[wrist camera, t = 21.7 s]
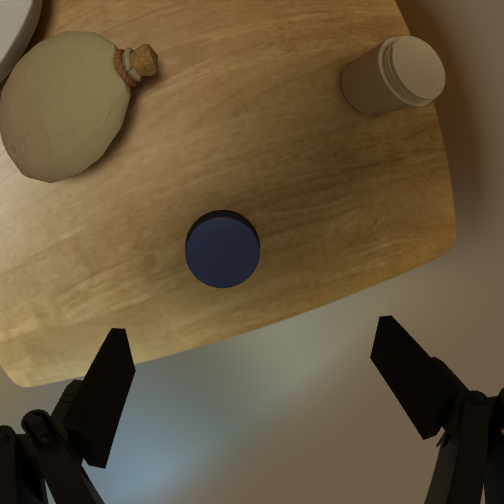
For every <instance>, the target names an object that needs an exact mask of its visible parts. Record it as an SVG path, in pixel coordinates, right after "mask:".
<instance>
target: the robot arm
mask: <svg viewBox="0 0 504 504" xmlns="http://www.w3.org/2000/svg"><path fill="white" fill-rule="evenodd" d="M370 358H371V360H372V361H373V363H374V364H375V366H376V367H377V369H378V370H379V372H380V373H381V375H382V376H383V378H384V379H385V381H386V382H387V384H388V385H389V387H390V389H391V390H392V392H393V393H394V394H395V396H396V398H397V399H398V401H399V402H400V404H401V405H402V407H403V409H404V410H405V412H406V413H407V415H408V416H409V418H410V419H411V421H412V423H413V424H414V426H415V427H416V429H417V430H418V432H419V434H420V435H421V437H422V439H423V440H425V439H428V438H430V437H433V436H435V435H437V433H438V432H439V430H440V428H441V427H443V428H444V430H445V432H444V434H443V435H442V437H441V439H440V440H439V442H438V443H437V445H436V446H437V447H438V446H439V445H440V443H441V445H440V450H439V454H438V458H437V462H436V466H435V470H434V473H433V477H432V480H431V484H430V487H429V490H428V493H427V497H426V500H425V503H424V504H480V502H481V496H482V490H483V484H484V491H485V504H504V435H503V432H502V430H504V388H503V389H501V391H500V393H499V395H498V396H494V397H487V396H486V395H485V394H483V393H482V392H479V391H473V390H472V391H469V390H468V389H467V387H466V386H465V385H464V384H463V383H462V382H461V381H460V380H459V378H458V377H457V376H456V375H455V374H453V372H452V371H451V370H450V369H449V368H448V367H447V365H446V364H445V363H444V362H443V361H441V360H439V359H438V358H436V357H432V358H431V357H430V356H429V355H428V354H427V353H426V352H425V351H424V350H423V349H422V348H421V347H420V345H419V344H418V343H417V342H416V341H415V340H414V339H413V338H412V337H411V336H410V335H409V334H408V332H407V331H406V330H405V329H404V328H403V327H402V326H401V325H400V324H399V323H398V322H397V321H396V320H395V319H394V318H393V317H392V316H391V315H390V316H382V317H379V321H378V327H377V331H376V335H375V340H374V344H373V348H372V352H371V356H370ZM135 371H136V370H135V367H134V363H133V359H132V355H131V351H130V347H129V343H128V339H127V334H126V330H125V329H119V328H111V330H110V332H109V334H108V335H107V337H106V339H105V341H104V342H103V344H102V346H101V348H100V350H99V352H98V353H97V355H96V357H95V359H94V361H93V363H92V364H91V366H90V368H89V370H88V372H87V374H86V376H85V378H84V380H83V381H82V380H73V381H72V382H71V383H70V384H69V385H67V387H66V388H65V390H64V392H63V394H62V396H61V398H60V399H59V402H58V403H57V405H56V407H55V409H54V411H53V413H52V415H51V416H49V414H48V413H47V412H45V411H44V410H39V409H37V410H32V411H30V412H28V413H27V414H26V415H25V416H24V417H23V419H22V421H21V426H22V428H23V430H24V431H25V433H26V434H16V433H15V431H14V430H13V429H12V428H11V427H9V426H5V425H2V426H0V504H48V498H47V493H46V486H45V480H46V482H47V485H48V487H49V489H50V492H51V494H52V496H53V498H54V500H55V502H56V504H105V503H104V502H103V500H102V499H101V497H100V495H99V494H98V492H97V491H96V489H95V487H94V486H93V484H92V482H91V481H90V479H89V477H88V475H87V474H86V472H85V470H84V468H83V467H82V465H81V464H82V461H83V458H84V459H85V461H86V462H87V464H88V465H90V466H95V467H99V468H106V464H107V460H108V457H109V454H110V450H111V446H112V443H113V440H114V437H115V433H116V430H117V427H118V423H119V419H120V417H121V414H122V410H123V407H124V404H125V401H126V398H127V395H128V392H129V389H130V386H131V383H132V380H133V377H134V374H135Z"/></svg>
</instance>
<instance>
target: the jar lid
mask: <svg viewBox="0 0 504 504" xmlns="http://www.w3.org/2000/svg"><path fill="white" fill-rule="evenodd" d="M259 253H260V249H259V244H258V239H257V237H256V236H255V234H254V231H253V229H251V227H250V226H249V225H248V223H247V222H245V221H243V220H242V219H240V217H236V216H233V215H231V214H230V215H229V214H221V213H220V214H216V215H211V216H209V217H207V218H205V219H202V221H200V222H199V223H198V224H197V225H195V227H194V229H193V230H192V232H191V233H190V234H189V239H188V241H187V243H186V261H187V264H188V266H189V269H190V270H191V272H192V273H193V275H194V276H195V277H196V278H197V279H198V280H200V281H201V282H203V283H205V284H206V285H209V286H212V287H216V288H229V287H233V286H236V285H238V284H240V283H242V282H244V281H245V280H247V279H248V278H249V277H250V276H251V275H252V273H253V272H254V270H255V269H256V267H257V264H258V261H259Z"/></svg>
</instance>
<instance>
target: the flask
mask: <svg viewBox="0 0 504 504" xmlns="http://www.w3.org/2000/svg"><path fill="white" fill-rule="evenodd" d="M157 62H158V55H157V54H156V53H155V51H154V50H153V49H152V48H151V47H150V45H149V44H143V45H141V46H140V47H139V48H137V49H136V50H135V51H133V50H132V49H131V48H129V47H128V48H127V49H126V50H125V51H124V50H123V49H119V50H118V48H117V46H116V45H115V44H114V43H112V42H110V41H108V40H107V39H105V38H103V37H101V36H100V35H98V34H96V33H94V32H63V33H61V34H58V35H55V36H53V37H51V38H48V39H46V40H43V41H41V42H39V43H38V44H37V45H35V46H34V47H33V48H32V49H31V50H30V51H29V52H28V53H26V54H25V55H24V56H23V57H22V58H21V59H20V60H19V61H18V62H17V63H16V65H15V67H14V68H13V70H12V72H11V74H10V76H9V78H8V80H7V81H6V83H5V85H4V88H3V90H2V93H1V100H0V133H1V137H2V141H3V144H4V147H5V149H6V151H7V153H8V155H9V156H10V157H11V159H12V160H13V162H14V163H15V165H16V166H17V168H18V169H19V170H20V172H21V173H22V174H23V175H25V176H27V177H29V178H33V179H36V180H40V181H44V182H48V183H53V182H56V181H60V180H63V179H67V178H71V177H74V176H77V175H78V174H80V173H81V172H82V171H83V170H85V169H86V168H87V167H88V166H90V165H91V164H92V163H94V162H95V161H96V160H98V159H99V158H100V157H102V155H103V153H104V152H105V150H106V149H107V147H108V146H109V144H110V143H111V141H112V140H113V139H114V137H115V136H116V134H117V133H118V131H119V130H120V129H121V127H122V125H123V121H124V117H125V114H126V110H127V107H128V104H129V100H130V97H131V93H130V88H131V87H135V86H136V85H137V81H141V76H145V75H153V74H154V73H155V72H156V71H157Z"/></svg>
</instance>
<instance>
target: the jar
mask: <svg viewBox="0 0 504 504" xmlns="http://www.w3.org/2000/svg"><path fill="white" fill-rule="evenodd" d="M444 85H445V72H444V67H443V65H442V62H441V60H440V58H439V56H438V55H437V53H436V52H435V51H434V50H433V48H432V47H430V46H429V45H428V44H427V43H426V42H424V41H423V40H420V39H419V38H416V37H413V36H403V37H392V38H389V39H387V40H386V41H384V42H382V43H381V44H379V45H377V46H376V47H374V48H372V49H371V50H369V51H368V52H366V53H364V54H363V55H361V56H360V57H358V58H356V59H355V60H353V61H352V62H350V63H349V64H348V65H347V66H346V67H345V68H344V70H343V72H342V76H341V86H342V90H343V93H344V95H345V97H346V99H347V100H348V102H349V103H350V104H351V105H352V106H353V107H354V108H355V109H357V110H358V111H360V112H362V113H365V114H369V115H377V114H382V113H387V112H392V111H397V110H403V109H408V108H414V107H420V106H425V105H427V104H429V103H430V102H432V101H433V99H435V98H437V97H438V96H439V95H440V94H441V92H442V91H443V88H444Z"/></svg>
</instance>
